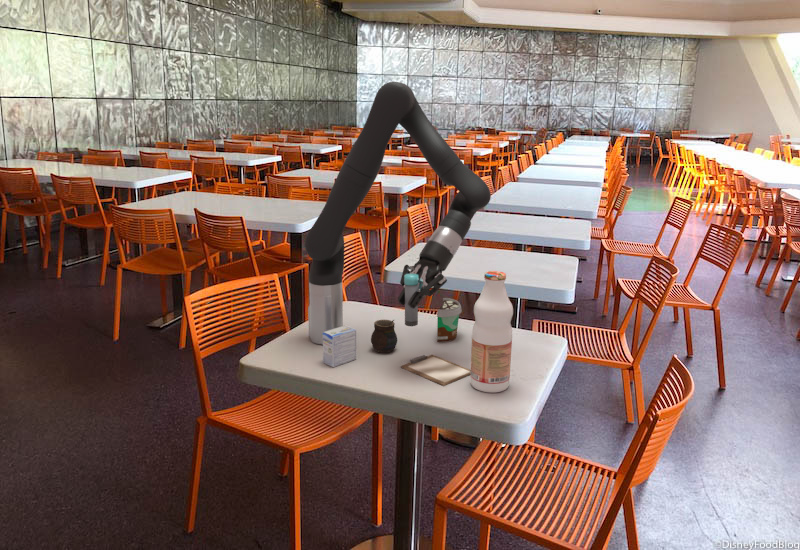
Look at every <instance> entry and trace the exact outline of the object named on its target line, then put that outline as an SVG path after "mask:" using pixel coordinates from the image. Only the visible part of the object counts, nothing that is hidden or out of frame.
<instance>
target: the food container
mask: <svg viewBox="0 0 800 550" xmlns="http://www.w3.org/2000/svg"><path fill="white" fill-rule="evenodd" d="M462 312H463V311H462V305H461V304H460V301H458V300H456V299H453V298H449V297H443V298H442V303H441V305H440V307H439V309H437V314H436V317H437V321H436V322H437V323H436V324H437V326H436V327H437V334H436V335H437V336H436V338H437V339H436V341H437V342H438V343H446V342H447V343H448V342H451V341H454V340H456V339H457V336H458V327H459V319H460V314H461V313H462Z"/></svg>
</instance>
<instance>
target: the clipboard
mask: <svg viewBox="0 0 800 550" xmlns="http://www.w3.org/2000/svg"><path fill="white" fill-rule="evenodd" d="M400 368H401V369H403V370H406V371H408V372H410V373H413V374H415V375H418V376H420V377H422V378H424V379H427V380H429V381H432V382H433V383H435V384H437V385H439V386H443V387H446V386H447V385H450V384H452V383H454V382H457V381H459V380H462V379H464V378H467V377H468V376H470V373H471V368H470V369H469V368H467V367H464V366H462V365H460V364H457V363H455V362H452V361H449V360H447V359H445V358H442V357H440V356H437V355H434V354H429V355H425V354H422V355H420V356H417V357H415V358H410V361H409V362H407V363H406V364H405V363H404V364H402V365H400Z"/></svg>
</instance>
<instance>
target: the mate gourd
mask: <svg viewBox="0 0 800 550" xmlns="http://www.w3.org/2000/svg"><path fill="white" fill-rule="evenodd" d="M394 321H395V319H392V320H391V319H378V320H376V321H374V322H373V324H374V326H373V327H374V329H373V331H372V333H371V337H370V342H371V346H372V348H373V350H374V351H376V352H377V353H381V354H386V353H387V354H388V353H390V352H392V351H393V350H395V348H396V347H397V344H398V336H397V334H396V333H397V332H396V330H395V325H396V324H395V322H394Z"/></svg>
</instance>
